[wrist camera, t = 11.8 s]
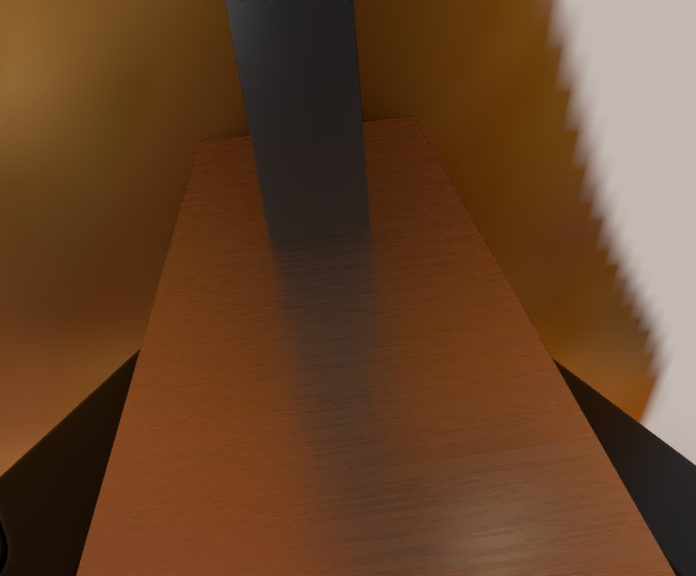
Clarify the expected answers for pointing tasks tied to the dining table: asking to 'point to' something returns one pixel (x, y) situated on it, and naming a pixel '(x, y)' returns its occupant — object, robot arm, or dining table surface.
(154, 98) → the dining table surface
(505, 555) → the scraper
